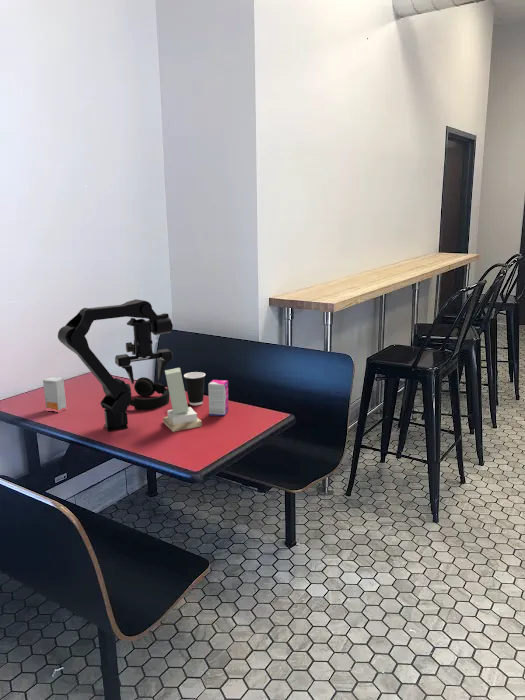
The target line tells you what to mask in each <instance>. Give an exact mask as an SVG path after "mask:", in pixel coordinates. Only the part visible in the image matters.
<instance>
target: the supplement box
mask: <svg viewBox="0 0 525 700" xmlns="http://www.w3.org/2000/svg"><path fill="white" fill-rule="evenodd" d="M207 391H208V416H209V417H210V416H211V417H212V416H214V417H215V416H216V417H224V416H226V414H227V413H229V380H226V379H225V380H223V379H221V380H219V379H212V380H211V381H210V382H209V383H208V390H207Z"/></svg>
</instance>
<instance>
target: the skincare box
mask: <svg viewBox="0 0 525 700" xmlns="http://www.w3.org/2000/svg"><path fill="white" fill-rule="evenodd" d="M42 383H43V392H44V401H45V409H46V408H51V409H56V410H60V409H62V408H65V407H66V408H67V401H66V392H65V383H64V378H62V377H51V376H50V377H47V378H45V379H42Z"/></svg>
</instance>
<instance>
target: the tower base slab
mask: <svg viewBox="0 0 525 700" xmlns="http://www.w3.org/2000/svg"><path fill="white" fill-rule="evenodd" d="M162 419H163V420H162V421H163V423H164V425H166V427H168V429H170V430H171V432H172V433H173V432H174V433H175V432H179V431H184V430H188V429H194V428H199V427H202V426H203V424H202V423H203V421H202V420H201V419H200V418H199V417H197V421H194V422H187V423H181V424H175V425H173V423H172V422H171V421H170V420H169V418H168V416H163V417H162Z"/></svg>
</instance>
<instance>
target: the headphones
mask: <svg viewBox="0 0 525 700" xmlns="http://www.w3.org/2000/svg"><path fill="white" fill-rule="evenodd" d="M125 384H126V385H127V387H128V388H130V389H132V387H131V385H130V384H129V383H125ZM133 386H134V387H133V388H134V391H135V392H136V394H137V395H138V396H141V397H144V398H140V397H139V398H138V397H134V398H133V399H132V398H131V399H130V401H129V404H128V407H130V406H132V407H134V410H138V411H150V410H155V409H159V408H162V407H164V406H167V405H169V403H170V394H169V389H168V387H167V388H166V385H163V384H162V383H160V382H159V383H154V381H153V380H152V379H150V378H148V377H145V376H144V377H139V378H137V380H136V381H135V382H134V384H133ZM129 391H130V392H131V393H132V390H129ZM155 392H156V393H157V394H159V395H160V394H161V395H160V396H156V397H152V398H151V396H152V395H155V394H154V393H155ZM146 397H150V398H146Z"/></svg>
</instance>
